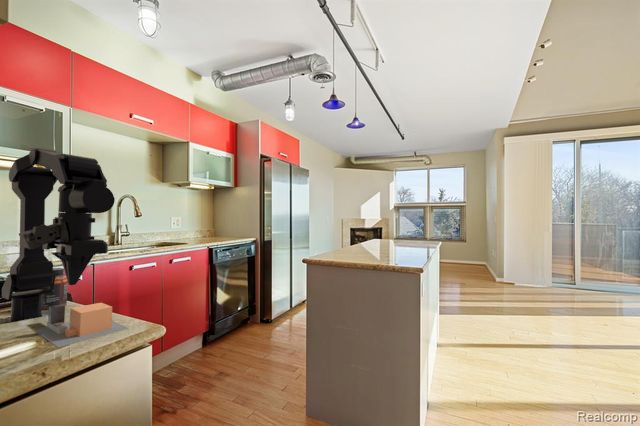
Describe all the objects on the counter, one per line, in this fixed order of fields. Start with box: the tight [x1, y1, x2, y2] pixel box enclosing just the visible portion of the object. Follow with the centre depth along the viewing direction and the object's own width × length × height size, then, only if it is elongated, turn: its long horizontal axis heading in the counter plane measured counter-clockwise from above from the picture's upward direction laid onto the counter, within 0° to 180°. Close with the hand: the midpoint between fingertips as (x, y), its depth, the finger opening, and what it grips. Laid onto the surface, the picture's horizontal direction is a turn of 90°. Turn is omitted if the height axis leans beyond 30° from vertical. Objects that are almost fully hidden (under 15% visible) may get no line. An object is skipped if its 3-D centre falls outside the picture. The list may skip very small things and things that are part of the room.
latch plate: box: [32, 320, 130, 348], centre depth 69 cm, size 16×13×2 cm
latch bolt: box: [41, 304, 66, 325], centre depth 69 cm, size 10×2×4 cm, turn 57°
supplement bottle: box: [42, 267, 68, 311], centre depth 88 cm, size 6×6×11 cm
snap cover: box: [65, 302, 113, 337], centre depth 68 cm, size 6×8×5 cm
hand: (72, 284), depth 65 cm, fingers closed
